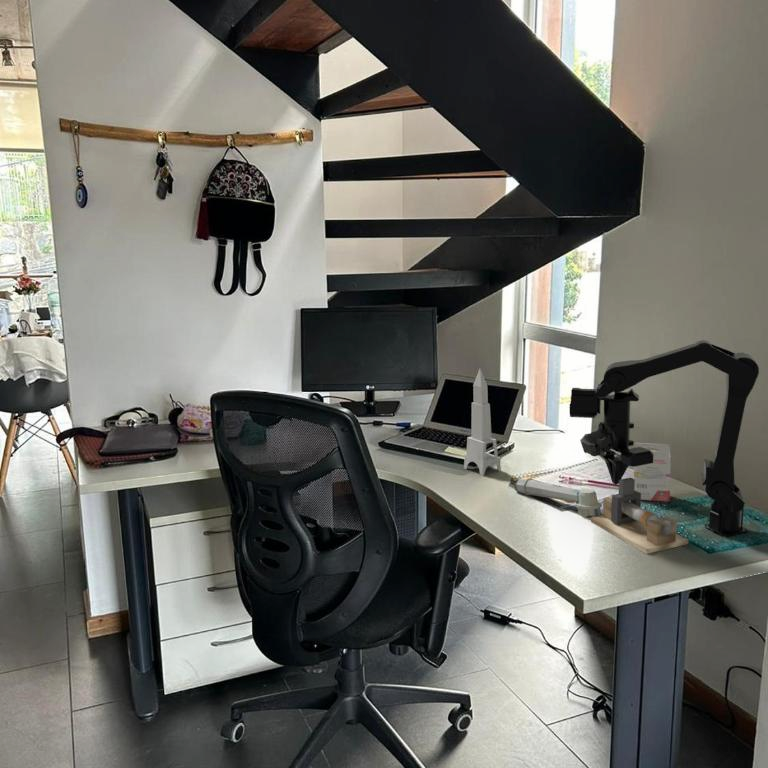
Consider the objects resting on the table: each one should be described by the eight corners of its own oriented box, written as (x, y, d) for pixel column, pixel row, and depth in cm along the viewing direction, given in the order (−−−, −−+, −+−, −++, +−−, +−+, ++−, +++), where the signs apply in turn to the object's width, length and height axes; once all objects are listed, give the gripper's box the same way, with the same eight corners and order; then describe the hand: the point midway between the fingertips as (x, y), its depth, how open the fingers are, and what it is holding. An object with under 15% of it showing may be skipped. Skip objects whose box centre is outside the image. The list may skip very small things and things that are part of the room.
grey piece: (525, 474, 192) (604, 485, 172) (528, 499, 192) (607, 512, 172) (511, 479, 189) (590, 491, 168) (514, 504, 189) (593, 518, 169)
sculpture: (482, 475, 204) (480, 371, 197) (463, 468, 210) (461, 367, 204) (500, 470, 207) (499, 367, 201) (482, 463, 214) (479, 364, 208)
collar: (634, 516, 167) (635, 476, 165) (640, 519, 165) (641, 478, 163) (611, 521, 165) (612, 480, 163) (617, 524, 163) (617, 483, 161)
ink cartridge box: (669, 495, 183) (671, 439, 179) (669, 502, 178) (671, 445, 175) (633, 492, 186) (635, 437, 183) (632, 499, 181) (634, 443, 178)
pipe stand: (629, 513, 172) (630, 489, 171) (688, 543, 155) (689, 517, 154) (590, 521, 169) (591, 497, 168) (646, 553, 151) (647, 526, 150)
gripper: (562, 414, 170) (562, 477, 173) (613, 433, 153) (612, 503, 156) (602, 408, 174) (601, 470, 177) (656, 426, 157) (654, 494, 160)
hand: (615, 483), depth 167 cm, fingers closed
